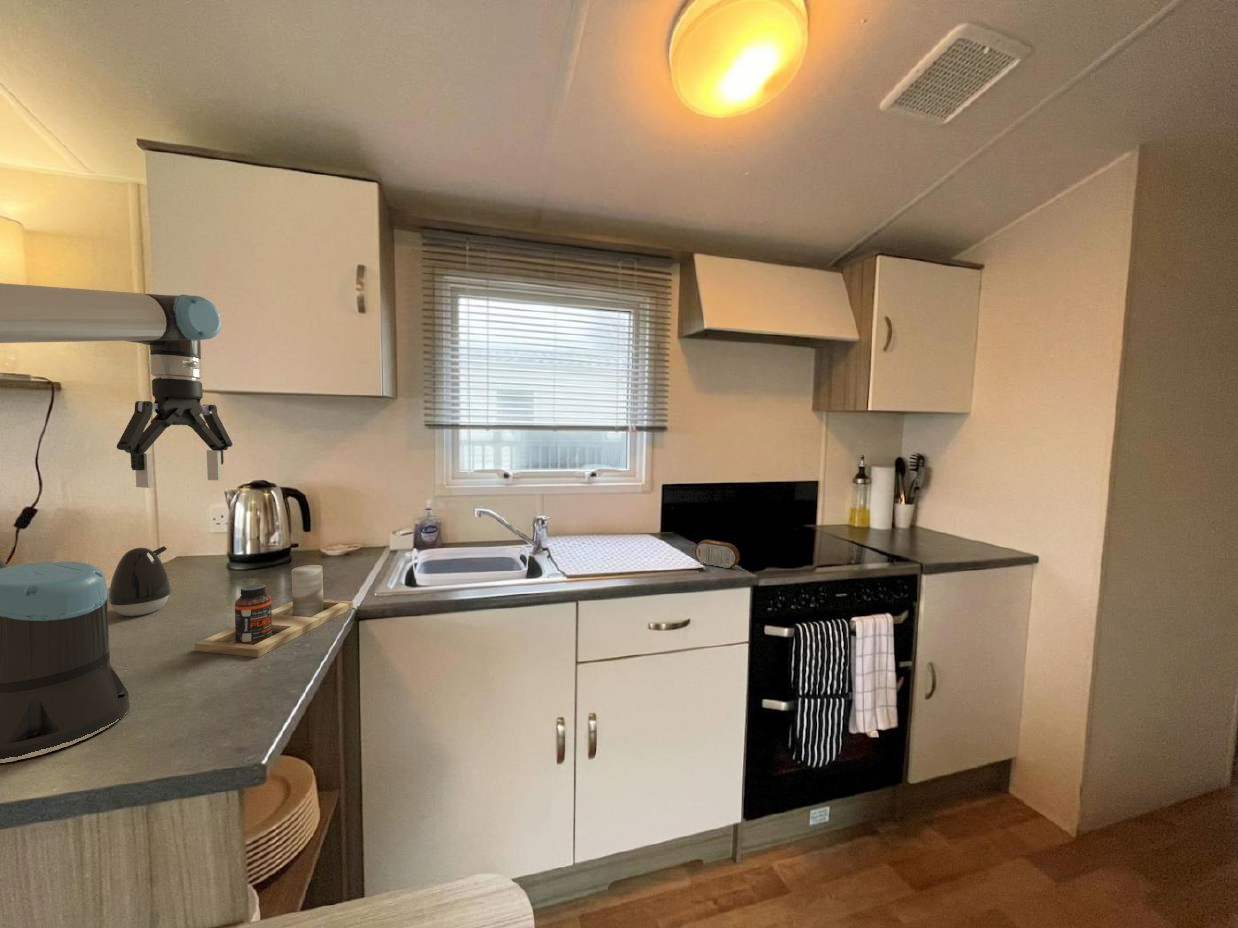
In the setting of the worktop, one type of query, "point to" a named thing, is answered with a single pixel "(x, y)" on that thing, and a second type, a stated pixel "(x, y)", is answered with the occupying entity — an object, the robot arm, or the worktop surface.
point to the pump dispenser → (139, 583)
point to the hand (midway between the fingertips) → (182, 483)
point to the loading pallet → (285, 616)
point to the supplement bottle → (253, 615)
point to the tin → (717, 553)
